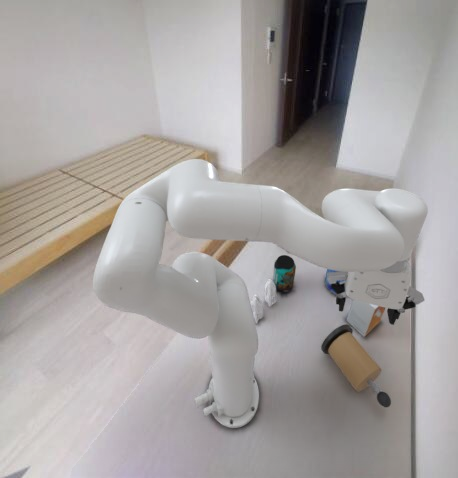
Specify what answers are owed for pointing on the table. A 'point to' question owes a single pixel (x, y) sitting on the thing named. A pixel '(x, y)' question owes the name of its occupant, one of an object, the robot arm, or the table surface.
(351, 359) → the towel holder
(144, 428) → the table surface
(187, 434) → the table surface
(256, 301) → the shaker set
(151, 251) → the robot arm
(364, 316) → the small box
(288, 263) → the beverage can
